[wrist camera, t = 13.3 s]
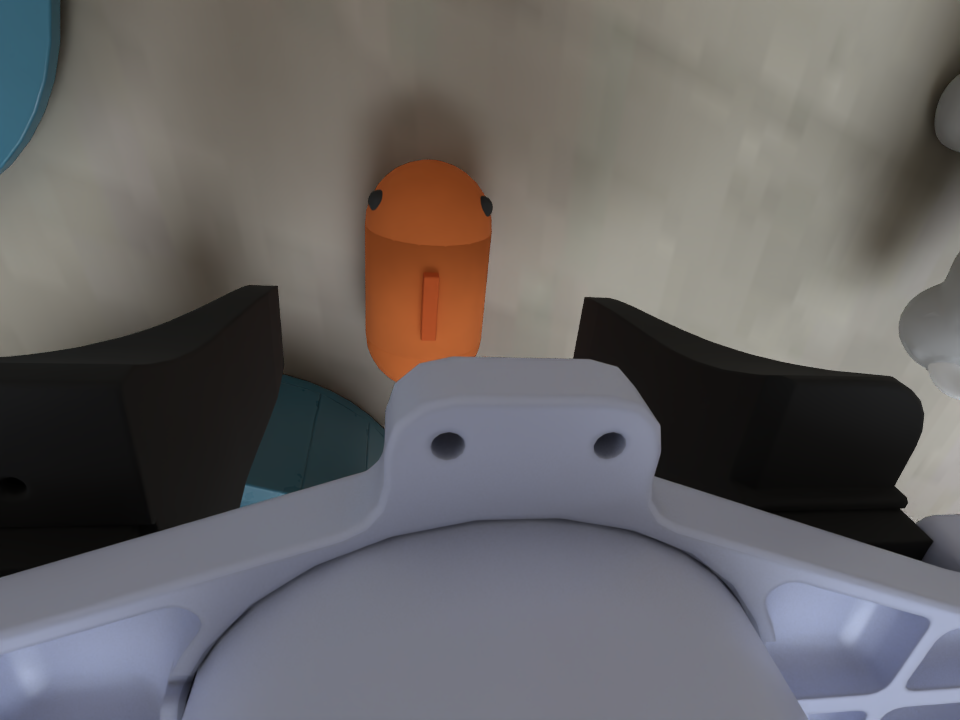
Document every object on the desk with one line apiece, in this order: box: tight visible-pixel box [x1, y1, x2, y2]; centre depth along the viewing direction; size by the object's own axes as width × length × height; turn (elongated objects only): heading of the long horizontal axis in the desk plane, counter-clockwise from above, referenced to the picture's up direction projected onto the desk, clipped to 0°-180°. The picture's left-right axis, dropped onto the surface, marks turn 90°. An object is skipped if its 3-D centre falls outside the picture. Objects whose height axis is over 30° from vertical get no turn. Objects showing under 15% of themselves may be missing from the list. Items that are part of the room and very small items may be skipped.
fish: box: [365, 160, 493, 382], centre depth 17 cm, size 8×3×4 cm, turn 175°
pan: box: [240, 374, 385, 508], centre depth 20 cm, size 12×18×6 cm
